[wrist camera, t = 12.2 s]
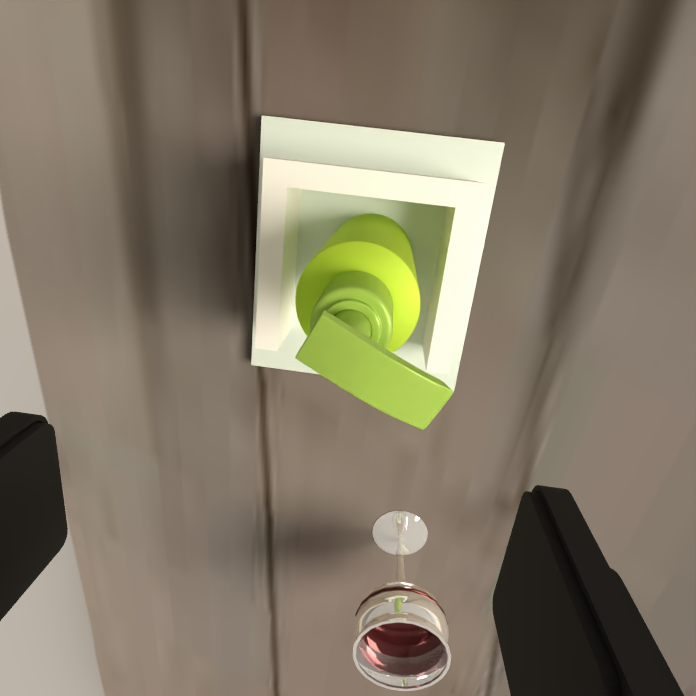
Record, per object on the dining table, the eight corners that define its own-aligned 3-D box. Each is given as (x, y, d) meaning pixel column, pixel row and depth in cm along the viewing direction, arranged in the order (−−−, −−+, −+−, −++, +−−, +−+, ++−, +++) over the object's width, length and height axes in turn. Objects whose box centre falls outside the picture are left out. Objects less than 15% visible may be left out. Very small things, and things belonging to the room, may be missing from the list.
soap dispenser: (394, 318, 37) (393, 477, 18) (314, 268, 36) (227, 381, 17) (440, 250, 35) (493, 352, 16) (357, 196, 34) (309, 237, 15)
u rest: (265, 116, 34) (239, 107, 28) (501, 143, 33) (523, 139, 27) (254, 360, 40) (231, 392, 34) (452, 387, 39) (461, 424, 34)
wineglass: (379, 570, 47) (375, 700, 35) (350, 514, 45) (335, 632, 33) (448, 551, 45) (466, 680, 34) (421, 493, 43) (430, 608, 32)
